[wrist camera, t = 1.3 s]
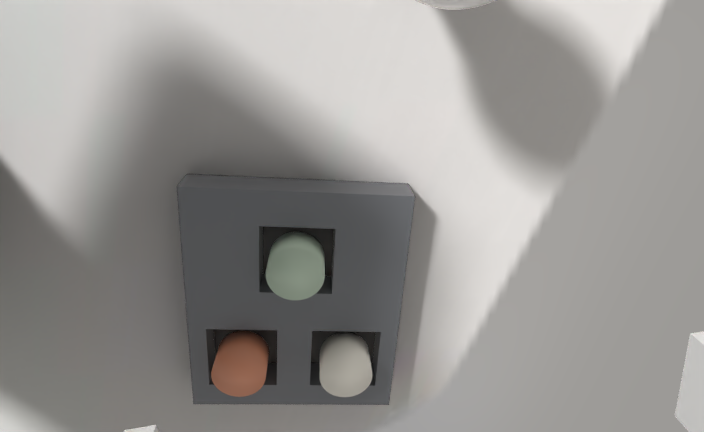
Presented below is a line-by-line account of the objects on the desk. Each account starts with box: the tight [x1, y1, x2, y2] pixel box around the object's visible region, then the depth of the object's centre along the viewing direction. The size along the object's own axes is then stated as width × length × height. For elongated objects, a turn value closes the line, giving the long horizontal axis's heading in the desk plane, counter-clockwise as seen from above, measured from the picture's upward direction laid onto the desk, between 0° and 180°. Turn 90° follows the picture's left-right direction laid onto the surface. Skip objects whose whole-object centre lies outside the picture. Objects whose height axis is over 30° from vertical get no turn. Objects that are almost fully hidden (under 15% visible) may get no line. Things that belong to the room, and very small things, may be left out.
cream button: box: [319, 332, 372, 397], centre depth 28 cm, size 3×3×2 cm
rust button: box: [211, 331, 269, 397], centre depth 28 cm, size 3×3×2 cm
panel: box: [177, 174, 415, 405], centre depth 28 cm, size 12×14×2 cm
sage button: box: [266, 231, 325, 300], centre depth 26 cm, size 3×3×2 cm
